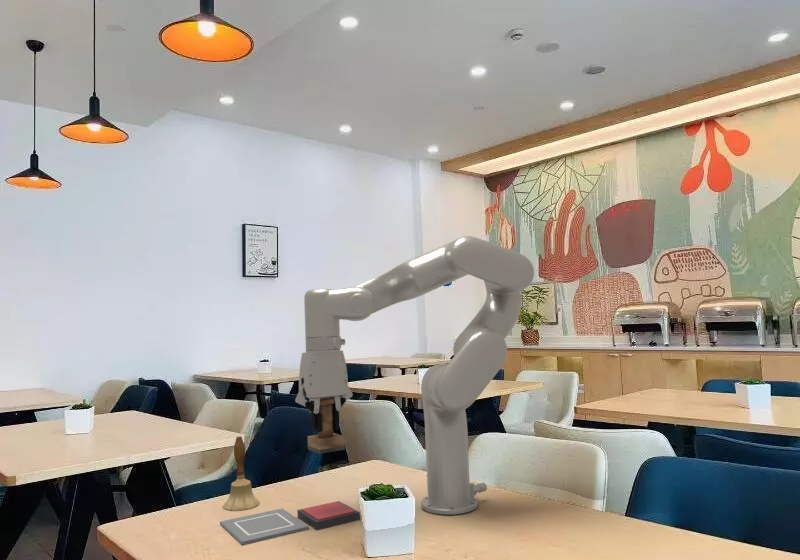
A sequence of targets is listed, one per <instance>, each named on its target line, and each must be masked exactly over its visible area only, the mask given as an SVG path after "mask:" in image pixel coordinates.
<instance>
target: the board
mask: <svg viewBox="0 0 800 560" xmlns="http://www.w3.org/2000/svg"><path fill="white" fill-rule="evenodd" d="M219 525H220V526H221V527H222V528H223V529H224V530H225V531H226V532H227V533H229V535H230V536H232V537H233V539H235V540H236V541H237V542H238V543H239V544H240V545H241V546H244V545H248V544H252V543H253V544H254V543H257V542H261V541H265V540H269V539H274V538H278V537H283V536H286V535H290V534H294V533H299V532H302V531H308V530H310V525H308V524H307V523H305V522H304V521H302V520H301V519H299V518H298V517H296V516H295V515H293V514H291V513H290V512H289V511H287V510H285V509H284V508H278V509H277V508H276V509H273V510H268V511H264V512H259V513H254V514H250V515H245V516H240V517H235V518H231V519H226V520H220V521H219Z"/></svg>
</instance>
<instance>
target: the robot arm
mask: <svg viewBox="0 0 800 560" xmlns="http://www.w3.org/2000/svg"><path fill="white" fill-rule="evenodd" d="M534 269H535V268H534V265H533V263H532V262H531V260H530V259H529V258H528V257H527V256H525V255H523V253H520V252H517V251H515V250H512V249H510V248H507V247H503V246H501V245H498V244H496V243H492V242H489V241H487V240H484V239H481V238H478V237H474V236H469V235H466V236H465V235H464V236H461V237H458V238H457V239H454V240H452V241H450V242H448V243H446V244H444V245H441V246H438V247H437V248H434V249H432V250H430V251H427V252H425V253H423V254H420V255H417V256H415V257H414V258H411V259H408V260H407V261H405V262H402V263H400V264H398V265H396V266H395V267H393V268H392V269H391V270H390V269H389V270H388V271H386V272H384V273H383V274H381V275H379V276H377V277H375V278H372V279H370V280H368V281H366V282H362V283H361V284H359V285H356V286H352V287H347V288H346V287H345V288H338V289H332V288H316V289H309V290H307V291H306V292H305V293H304V297H303V298H304V301H303V303H304V305H303V306H304V323H305V324H304V331H305V352H302V353H301V358H300V364H299V373H298V375H299V376H298V393H297V394H296V397H295V401H294V402H295V403H297V404H299V405H301V406H304V407H305V409H307V410H308V411H309V413H310V416H311V418H310V419H311V421H310V422H311V428H312V429H313V431H314V432H317V433H318V432H321V431H322V414H321V413H319V405H320V398H333V399H334V404H332V413H333V431H337V430H339V425H340V411H341V410H342V407H343V406H344V405H345V403H346V402H347V401H348V400H350V399H351V398H352V397H353V395H354V394H353V392H352V389H350V386H349V382H348V381H349V379H348V378H349V377H348V368H347V363H346V358H345V355H344V351H343V350H341V348H342V346H345V345H346V339H345V338H341V335H340V333H341V331H340V329H341V328H340V320H343V321H344V320H345V321H346V320H347V321H351V322H359V321H363V320H366V319H367V318H369V317H370V316H371V315H372V314H374V313H377V312H379V311H381V310H384V309H386V308H388V307H390V306H393V305H395V304H399V303H401V302H407V301H410V300H413V299H416V298H419V297H421V296H424V295H426V294H428V293H430V292H432V291H434V290H436V289H438V288H441V287H444V286H445V285H447V284H451V283H452V282H456V280H459V279H462V278H464V277H466V276H469V275H470V276H472V277H475V278H477V279H479V280H482V281H483V282H484V286H485V289H486V298H485V301H484V303H483V305H482V306H481V308H480V309H479V311H478V312H477V314H476V315H475V316H474V317H473V319H472V320H471V321H470V322H469V323H468V325H467V326H466V327H465V328H464V329H463V330H462V332H461V333H459V335H458V337H457V338H456V339H455V341H454V343H453V348H452V350H453V357H452V358H451V359H450V361H449V362H448V363H437V364H434V365H432V366H431V367H429V368H428V369H427V370H426V371H425V373H424V374H423V376H422V380H421V384H420V388H421V389H420V390H421V391H420V392H421V401H422V408H423V416H424V433H425V435H424V438H425V439H424V440H425V441H424V442H425V456H426V457H425V458H426V459H425V462H426V463H425V464H426V484H427V487H426V488H427V489H426V490H427V496H426V497H423V498H422V500H421V502H420V507H421V509H423V510H424V511H426V512H428V513H431V514H435V515H444V516H445V515H446V516H447V515H451V516H452V515H460V514H461V515H462V514H467V513H468V512H473V511H474V510H476V509H477V507H478V506H479V505H478V499H477V498H476V497H475V496H476V495H477V494H479V493H483V492H486V491H487V490H488V486H487V484H486V483H485V482H481V483H480V482H479V483H477V484H475V483H474V482H470V480H471V479H470V464H469V463H470V460H469V458H470V457H469V441H468V440H469V439H468V435H469V434H468V420H467V419H468V418H467V413H466V409H468V408H469V407H471V406H472V404H473V403H474V402H475V401H476V400H477V399H478V398H479V397H480V395H481V394H482V393H483V391H485V389H486V388H487V387H488V385H489V384H490V383H491V381H493V379H494V377H496V376H497V374H498V373H499V371H500V370H501V368H502V366H503V365H504V363H505V361H506V358H507V356H508V355H507V354H508V347H507V342H506V340H505V339H506V338H507V337H508V336H509V333H510V332H511V331H512V329H513V328H514V327H515V325H516V324H517V322H518V320H519V317H520V315H521V309H522V299H521V291H523V290H525V289H527V288H528V287H529V286H530V285H531V284H532V283H533V280H534V276H535V270H534ZM306 398H307V399H309V400H307V399H306Z"/></svg>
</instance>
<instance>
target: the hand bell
mask: <svg viewBox="0 0 800 560" xmlns="http://www.w3.org/2000/svg"><path fill="white" fill-rule="evenodd" d="M233 445H234V447H233V456H234V460H235V462H236V479H235V480H234V481H232V482H231V484H230V492H229V496H228V498H227V500H226V501H225V502H224V504H223V506H222V508H223V509H224V510H226V511H229V512H240V511H247V510H251V509H254V508H256V507H257V506H259V505H260V503H261V502H260V501H259V498H257V497H256V495H255V494H254V492H253V488H252V482H251V480H249V479H246V478H245V477H246V476H245V468H244V467H245V466H244V462H245V458H246V447H245V443H244V441H243V437H242V436H236V438H235V442H234V444H233Z"/></svg>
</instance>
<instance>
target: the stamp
mask: <svg viewBox="0 0 800 560" xmlns="http://www.w3.org/2000/svg"><path fill="white" fill-rule="evenodd" d="M332 404H334V399H333V398H320V405H319V413H321V414H322V431H321V432H317V433H318V434H313V435H308V436H307V450H309V451H311V452H314V453H317V454H318V455H319V454H325V453H326V454H327V453H332V452H333V453H334V452H337V451H338V452H339V451H344V450H346V442H345V441H346V437H345V436H344V435H341V434H338V433H335V432H334V429H333V413H332Z"/></svg>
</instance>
